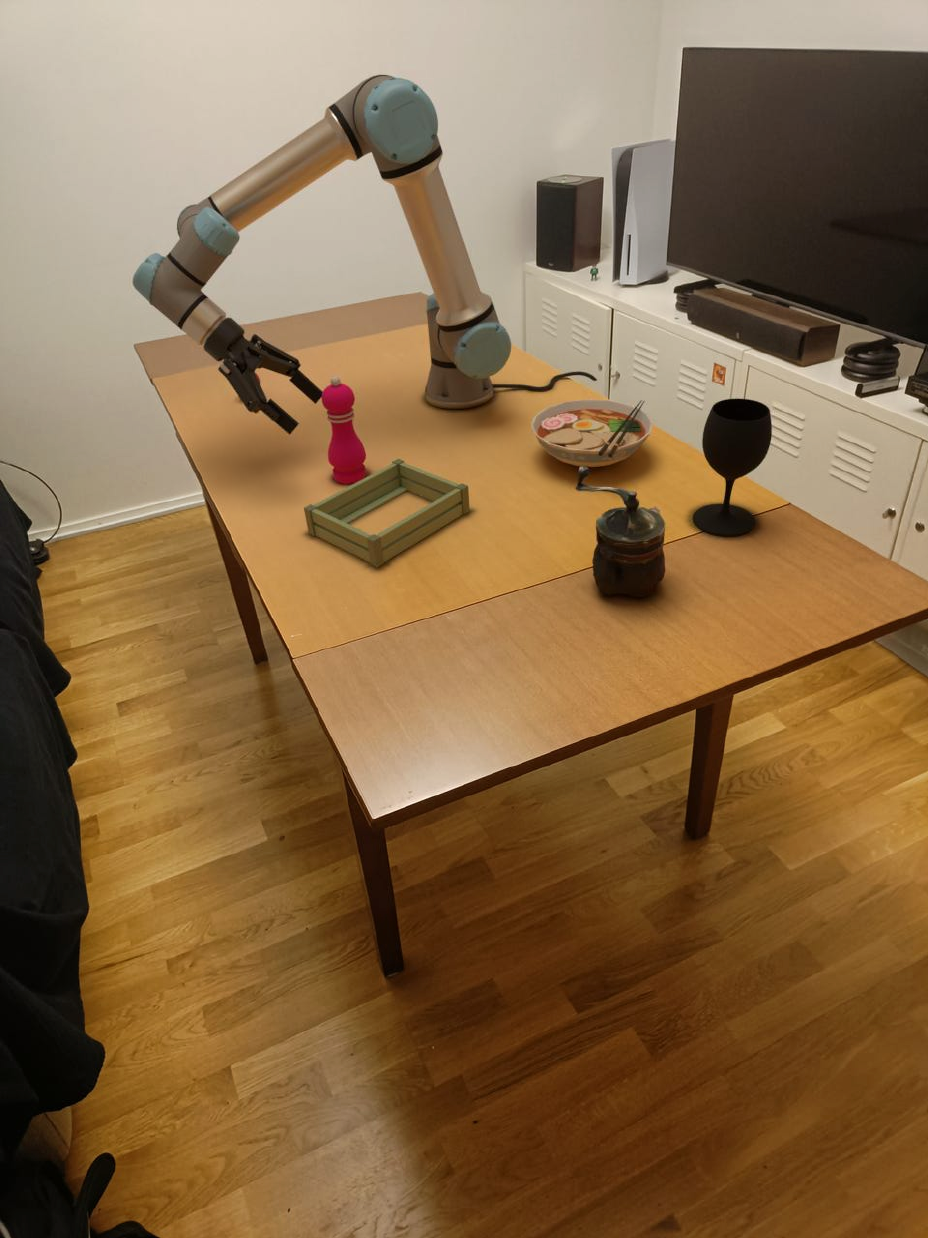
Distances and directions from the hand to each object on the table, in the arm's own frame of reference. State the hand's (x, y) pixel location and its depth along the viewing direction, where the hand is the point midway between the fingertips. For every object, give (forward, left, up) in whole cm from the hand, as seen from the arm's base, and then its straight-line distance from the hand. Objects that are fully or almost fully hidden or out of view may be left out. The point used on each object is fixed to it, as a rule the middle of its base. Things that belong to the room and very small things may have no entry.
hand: (307, 413), depth 157 cm
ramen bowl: (-51, +15, -13) cm, 54 cm away
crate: (-9, +23, -13) cm, 28 cm away
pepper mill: (-6, +3, -13) cm, 14 cm away
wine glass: (-62, +45, -13) cm, 78 cm away
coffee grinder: (-37, +55, -13) cm, 68 cm away
